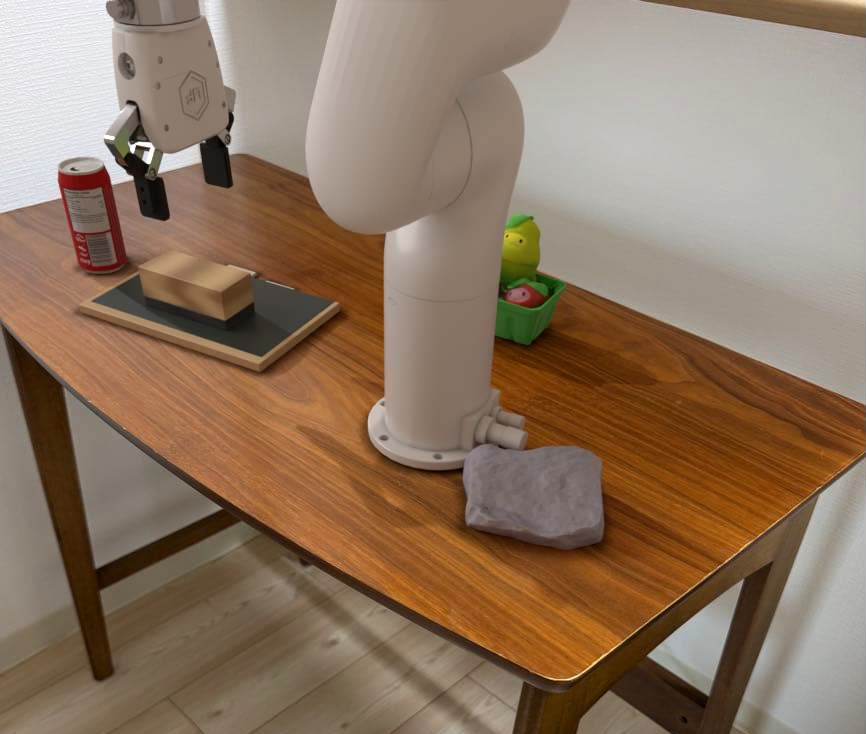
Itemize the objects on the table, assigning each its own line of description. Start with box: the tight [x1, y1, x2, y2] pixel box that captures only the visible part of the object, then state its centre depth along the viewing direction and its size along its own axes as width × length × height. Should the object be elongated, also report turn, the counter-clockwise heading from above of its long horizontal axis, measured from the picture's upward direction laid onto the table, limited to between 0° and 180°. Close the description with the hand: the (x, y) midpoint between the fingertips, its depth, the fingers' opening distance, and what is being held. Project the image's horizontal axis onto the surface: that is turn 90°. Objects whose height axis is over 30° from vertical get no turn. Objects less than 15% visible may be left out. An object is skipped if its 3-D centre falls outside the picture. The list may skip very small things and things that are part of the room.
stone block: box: [462, 444, 605, 551], centre depth 75 cm, size 12×5×10 cm
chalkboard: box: [78, 270, 341, 373], centre depth 99 cm, size 24×15×1 cm, turn 62°
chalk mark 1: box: [226, 264, 257, 278], centre depth 107 cm, size 4×1×1 cm, turn 61°
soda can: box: [57, 156, 128, 275], centre depth 103 cm, size 6×6×12 cm
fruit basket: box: [494, 213, 567, 346], centre depth 96 cm, size 11×9×11 cm
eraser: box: [137, 248, 255, 331], centre depth 97 cm, size 11×5×4 cm, turn 62°
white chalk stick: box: [265, 280, 296, 290], centre depth 104 cm, size 4×1×1 cm, turn 62°
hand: (188, 201), depth 90 cm, fingers open, 9 cm apart
